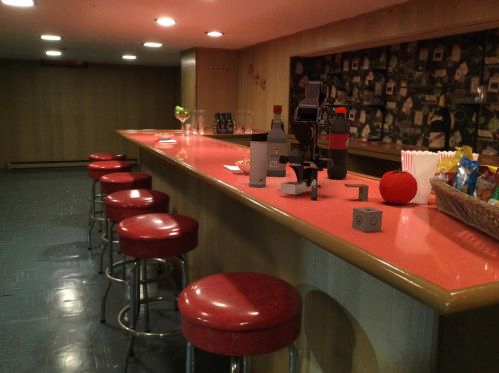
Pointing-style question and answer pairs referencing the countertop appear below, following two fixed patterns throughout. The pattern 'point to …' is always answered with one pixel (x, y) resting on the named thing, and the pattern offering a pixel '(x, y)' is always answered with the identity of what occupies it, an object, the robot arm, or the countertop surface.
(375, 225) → the dice cube
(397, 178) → the tomato
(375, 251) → the countertop surface
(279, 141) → the liquor
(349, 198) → the countertop surface
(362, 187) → the block
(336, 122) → the cola bottle
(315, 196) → the dark round cylinder
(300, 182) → the square scoop
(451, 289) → the countertop surface
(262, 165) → the travel mug
